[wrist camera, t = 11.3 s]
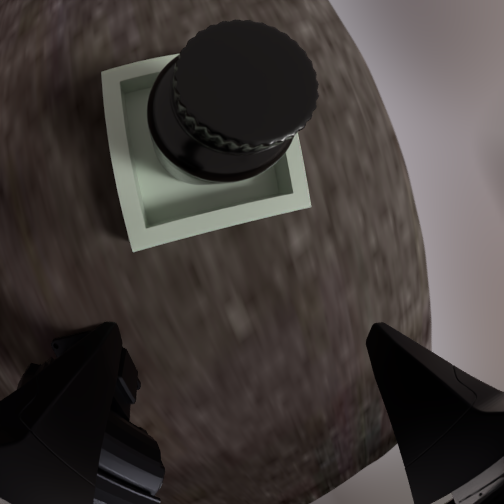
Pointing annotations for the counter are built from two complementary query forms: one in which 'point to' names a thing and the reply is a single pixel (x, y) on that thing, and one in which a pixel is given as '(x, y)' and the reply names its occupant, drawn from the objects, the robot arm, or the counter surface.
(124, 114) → the mint green square tray
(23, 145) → the counter surface
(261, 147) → the supplement bottle
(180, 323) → the counter surface
